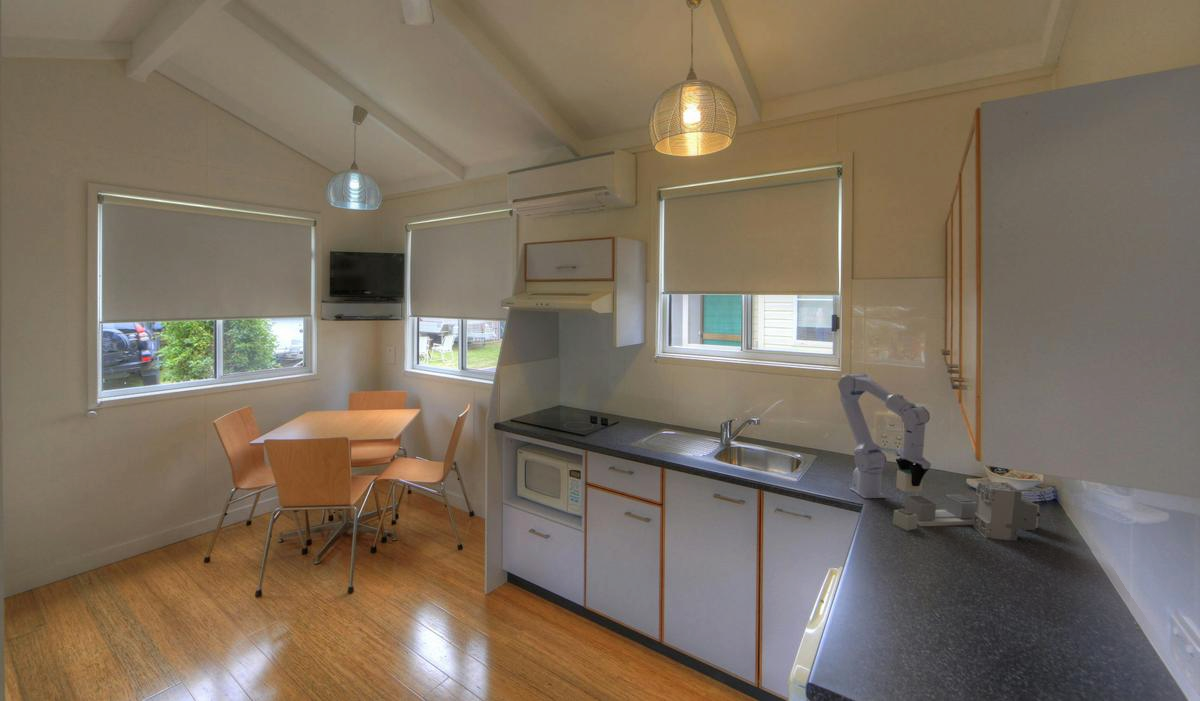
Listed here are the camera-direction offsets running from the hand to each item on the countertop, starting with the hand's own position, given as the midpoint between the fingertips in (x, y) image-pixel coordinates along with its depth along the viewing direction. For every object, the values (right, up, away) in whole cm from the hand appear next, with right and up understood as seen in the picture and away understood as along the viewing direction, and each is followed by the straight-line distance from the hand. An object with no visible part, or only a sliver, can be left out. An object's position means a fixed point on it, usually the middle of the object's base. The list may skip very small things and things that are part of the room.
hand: (910, 483), depth 175 cm
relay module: (0, -2, 0) cm, 2 cm away
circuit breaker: (+19, -12, -16) cm, 28 cm away
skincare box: (+29, -11, -9) cm, 33 cm away
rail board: (+6, -10, -6) cm, 13 cm away
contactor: (-9, -11, -11) cm, 18 cm away
